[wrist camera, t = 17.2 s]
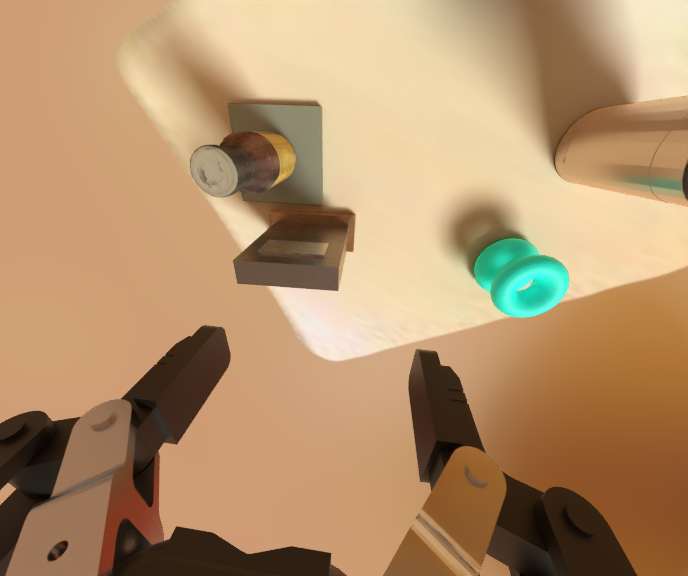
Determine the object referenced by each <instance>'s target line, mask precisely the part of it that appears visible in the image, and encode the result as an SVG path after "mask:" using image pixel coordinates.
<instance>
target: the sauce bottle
mask: <svg viewBox="0 0 688 576" xmlns="http://www.w3.org/2000/svg"><path fill="white" fill-rule="evenodd" d="M295 166H296V154H295V151H294V147H293V145H292V144H291V143H290V142H289V141H288V140H287V139H286V138H284V137H283V136H281V135H279V134H276V133H269V132H249V131H247V132H236V133H233V134H231V135H229V136H227V137H225V138H224V139H223V142H222V143H221V144H220V146H218V145H204V146H201V147H199V148H198V149H197V150H195V152H194V153H193V154H192V157H191V160H190V169H191V174H192V177H193V178H194V180H195V181H196V183H197V184H198V186H199V187H200V188H201V189H202V190H203V191H205V192H206V193H208V194H210V195H211V196H214V197H226V196H230V195H232V194H235V193H236V192H237V191H238V190H240V191H242V192H244V193H247V194H259V193H262V192H264V191H266V190H268V189H270V188H271V187H273V186H275V185H277V184H278V183H280V182H282V181H284V180H285V179H287V178H288V177H289V176H290V175H291V174H292V173H293V171H294V168H295Z"/></svg>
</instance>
